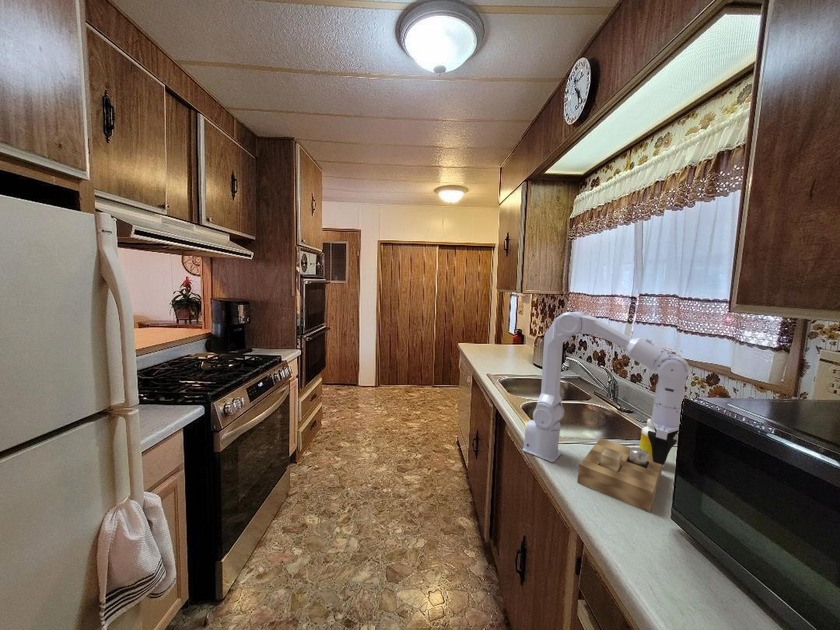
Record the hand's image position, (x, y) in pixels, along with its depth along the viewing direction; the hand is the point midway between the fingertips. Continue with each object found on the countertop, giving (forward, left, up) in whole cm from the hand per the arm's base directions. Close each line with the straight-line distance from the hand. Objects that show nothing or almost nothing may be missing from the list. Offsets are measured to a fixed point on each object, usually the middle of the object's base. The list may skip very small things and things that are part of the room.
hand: (660, 457), depth 84 cm
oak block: (-8, +2, -10) cm, 13 cm away
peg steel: (-5, +5, -7) cm, 10 cm away
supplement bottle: (-3, +19, -10) cm, 22 cm away
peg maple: (-10, -3, -7) cm, 12 cm away
